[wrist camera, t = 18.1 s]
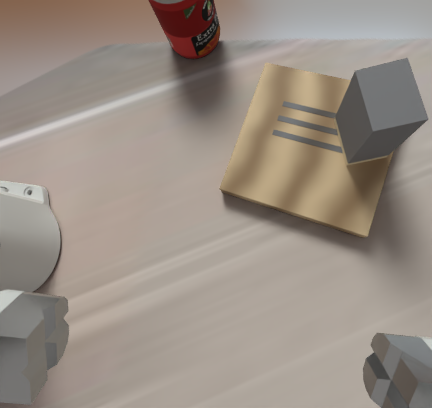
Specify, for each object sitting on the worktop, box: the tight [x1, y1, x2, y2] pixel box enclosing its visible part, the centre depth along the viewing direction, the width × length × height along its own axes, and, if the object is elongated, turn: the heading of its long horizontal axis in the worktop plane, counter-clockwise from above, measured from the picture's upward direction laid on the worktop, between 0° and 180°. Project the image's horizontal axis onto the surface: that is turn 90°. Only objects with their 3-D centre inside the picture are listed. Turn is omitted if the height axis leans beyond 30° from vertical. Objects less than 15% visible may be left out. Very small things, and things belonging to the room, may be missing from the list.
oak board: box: [220, 63, 393, 238], centre depth 39 cm, size 18×18×2 cm
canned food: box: [149, 0, 220, 59], centre depth 41 cm, size 8×8×11 cm
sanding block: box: [334, 58, 428, 166], centre depth 32 cm, size 6×4×10 cm
